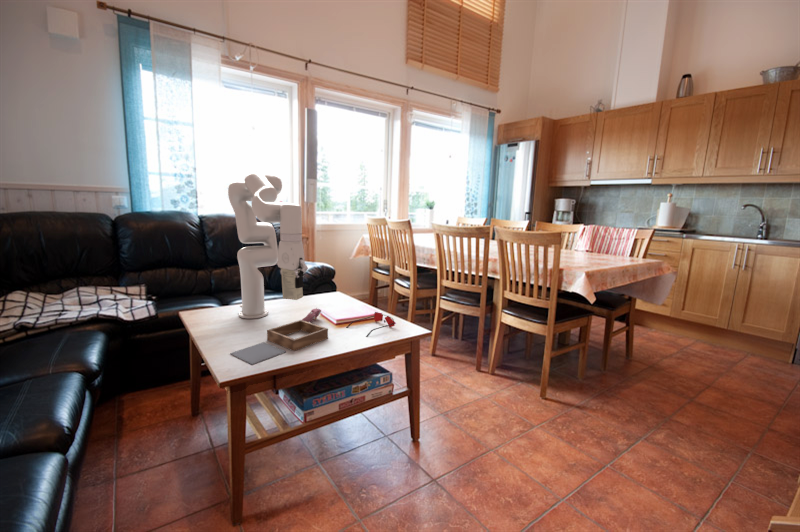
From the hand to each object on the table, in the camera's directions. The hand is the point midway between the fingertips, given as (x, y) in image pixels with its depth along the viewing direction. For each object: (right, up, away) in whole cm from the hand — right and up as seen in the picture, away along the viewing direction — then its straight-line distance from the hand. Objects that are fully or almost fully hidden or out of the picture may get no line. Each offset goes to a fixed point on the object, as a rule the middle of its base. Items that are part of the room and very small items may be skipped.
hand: (292, 285), depth 135 cm
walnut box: (+1, -21, +5) cm, 22 cm away
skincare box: (0, -5, +1) cm, 5 cm away
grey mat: (-9, -23, -8) cm, 26 cm away
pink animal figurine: (+1, -18, +26) cm, 32 cm away
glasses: (+28, -20, +20) cm, 40 cm away
